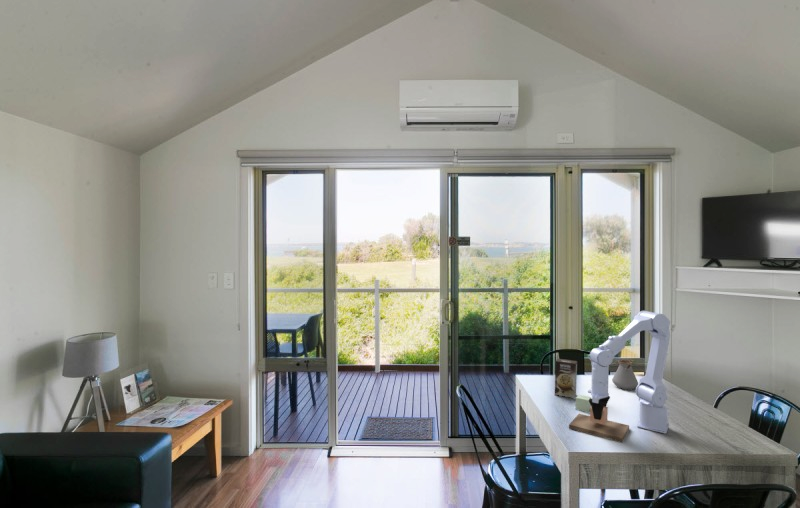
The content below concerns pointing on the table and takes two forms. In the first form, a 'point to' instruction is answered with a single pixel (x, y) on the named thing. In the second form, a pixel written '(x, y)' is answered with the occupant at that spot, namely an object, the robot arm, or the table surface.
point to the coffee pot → (625, 376)
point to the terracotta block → (603, 418)
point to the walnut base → (600, 428)
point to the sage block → (583, 403)
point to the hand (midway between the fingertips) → (599, 416)
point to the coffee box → (565, 378)
